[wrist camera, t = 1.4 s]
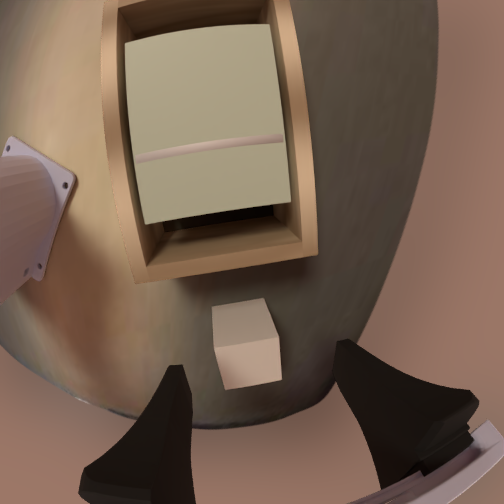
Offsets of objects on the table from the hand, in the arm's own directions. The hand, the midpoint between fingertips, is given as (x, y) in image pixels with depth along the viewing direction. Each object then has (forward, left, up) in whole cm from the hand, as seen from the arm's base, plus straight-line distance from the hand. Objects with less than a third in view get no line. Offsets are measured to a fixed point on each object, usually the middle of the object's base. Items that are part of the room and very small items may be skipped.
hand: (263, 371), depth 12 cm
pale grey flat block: (+7, +7, -4) cm, 10 cm away
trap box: (+8, +8, -10) cm, 15 cm away
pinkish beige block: (-3, -2, -10) cm, 10 cm away
